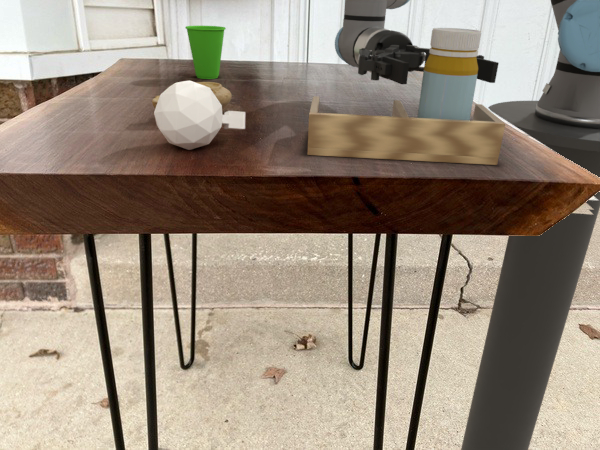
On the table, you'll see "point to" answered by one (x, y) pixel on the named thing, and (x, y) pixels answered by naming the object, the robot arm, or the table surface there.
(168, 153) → the table surface
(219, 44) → the cup
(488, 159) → the rack
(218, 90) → the oil lamp
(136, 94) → the table surface
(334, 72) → the table surface
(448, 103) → the bottle
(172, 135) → the perfume bottle
